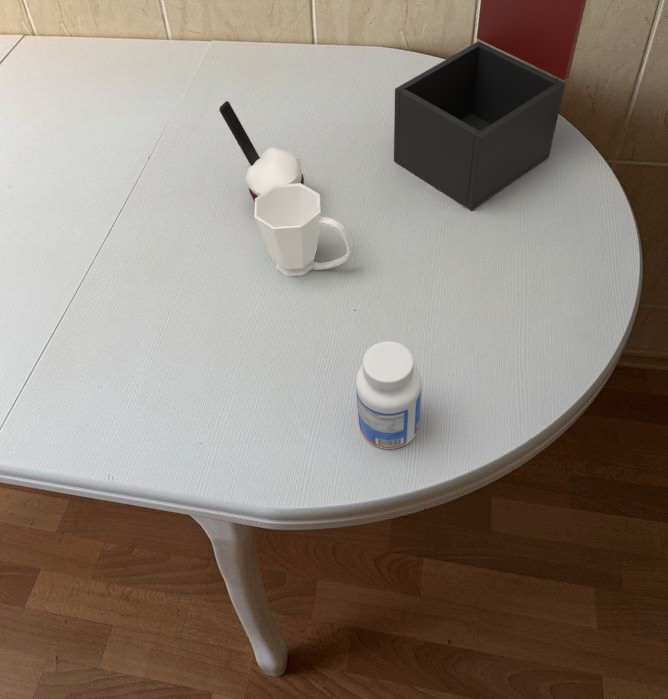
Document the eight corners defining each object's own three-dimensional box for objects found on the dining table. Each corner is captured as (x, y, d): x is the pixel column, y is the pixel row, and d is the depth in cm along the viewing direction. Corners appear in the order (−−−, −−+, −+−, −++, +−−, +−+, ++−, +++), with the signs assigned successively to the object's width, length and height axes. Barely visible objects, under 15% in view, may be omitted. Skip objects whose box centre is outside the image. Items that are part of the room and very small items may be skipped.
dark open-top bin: (471, 211, 79) (481, 137, 71) (393, 161, 85) (394, 88, 77) (548, 157, 84) (565, 83, 76) (470, 113, 90) (478, 40, 82)
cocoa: (323, 212, 80) (315, 121, 71) (278, 238, 78) (264, 148, 69) (275, 172, 85) (261, 83, 76) (232, 195, 83) (212, 106, 73)
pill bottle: (387, 388, 65) (387, 322, 57) (431, 423, 63) (438, 358, 55) (345, 425, 63) (340, 361, 55) (389, 463, 61) (390, 401, 53)
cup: (277, 234, 79) (268, 176, 72) (362, 252, 76) (361, 194, 70) (252, 278, 75) (240, 221, 68) (340, 299, 72) (336, 242, 66)
